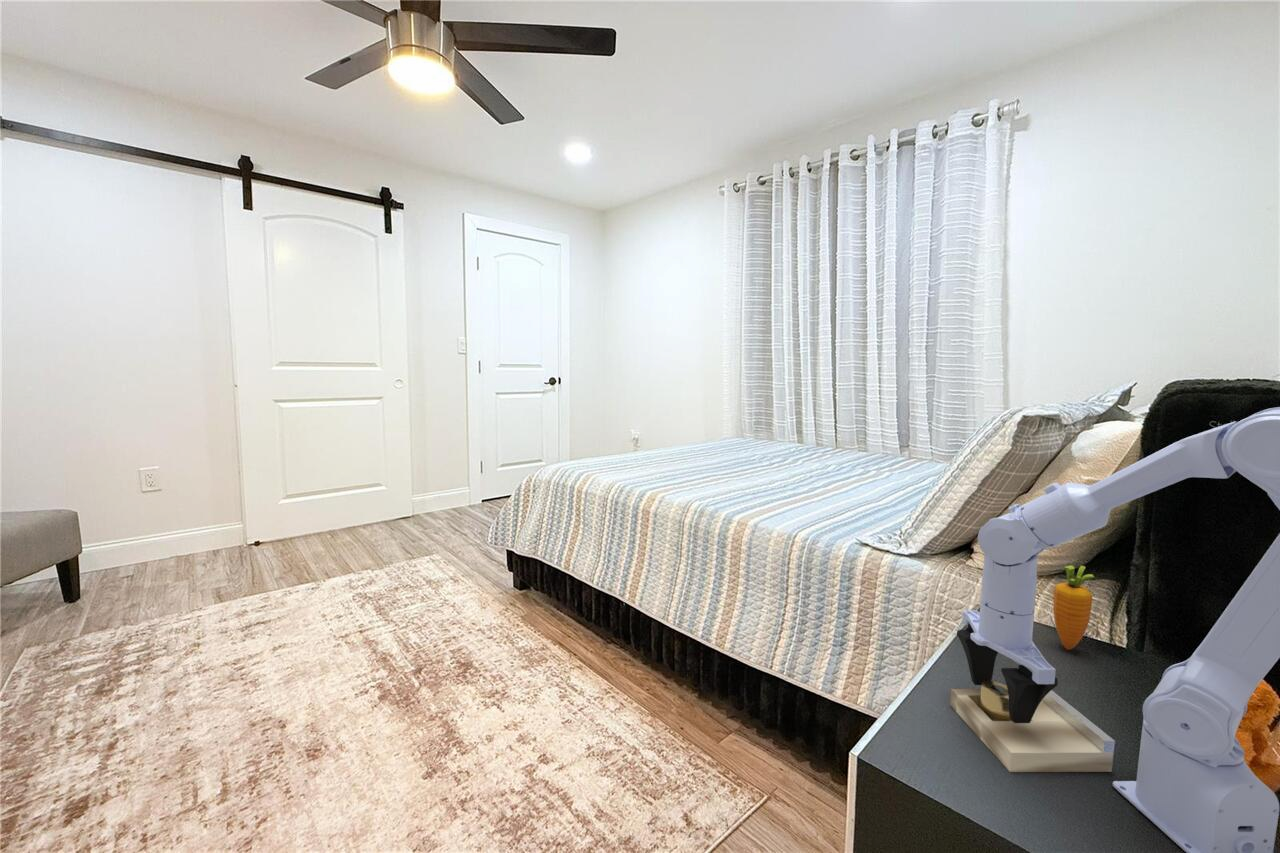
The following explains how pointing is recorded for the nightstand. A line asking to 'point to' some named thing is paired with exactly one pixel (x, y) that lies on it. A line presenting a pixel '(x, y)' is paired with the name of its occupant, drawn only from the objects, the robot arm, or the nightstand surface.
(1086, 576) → the carrot
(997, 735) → the jig
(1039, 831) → the nightstand surface
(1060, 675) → the nightstand surface
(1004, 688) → the bushing
